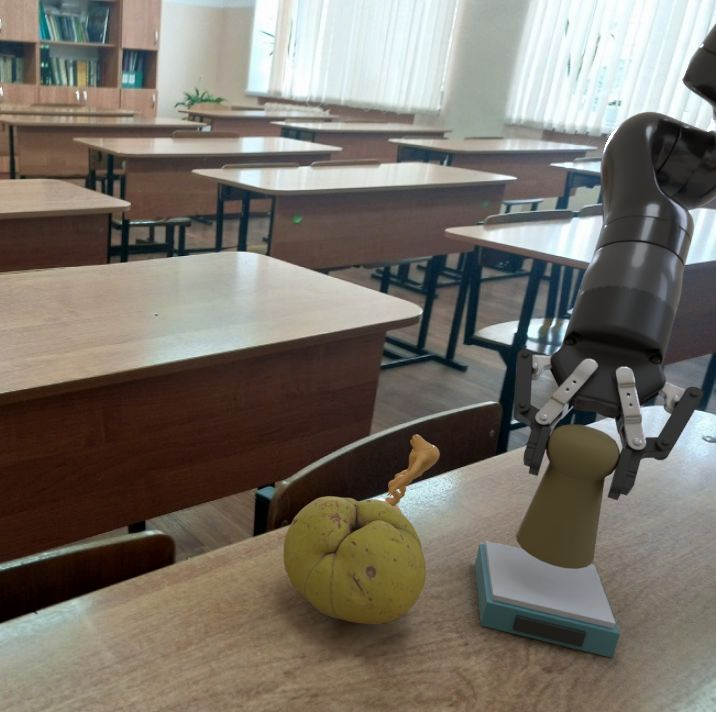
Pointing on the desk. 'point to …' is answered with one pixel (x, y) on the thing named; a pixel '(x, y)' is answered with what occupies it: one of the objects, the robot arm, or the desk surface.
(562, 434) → the cork
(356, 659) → the desk surface
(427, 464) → the figurine
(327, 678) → the desk surface
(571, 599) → the scale
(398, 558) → the fruit
